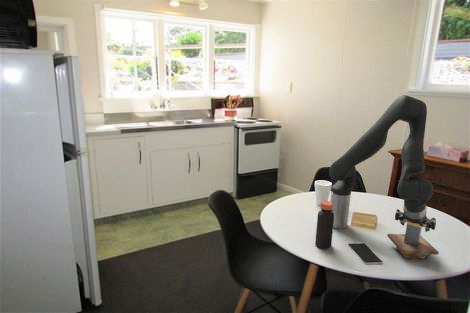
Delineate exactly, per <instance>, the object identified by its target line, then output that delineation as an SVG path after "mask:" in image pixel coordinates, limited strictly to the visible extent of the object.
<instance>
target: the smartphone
mask: <svg viewBox="0 0 470 313" xmlns="http://www.w3.org/2000/svg"><path fill="white" fill-rule="evenodd" d="M347 246H348V247H349V249H350V250H351V251H352V252H353V253H354V254H355V255H356V256H357V258H358V259H359V260H360V262H362V263H363V264H364V265H380V264H381V265H382V264H383V260H382V259H381V258H380V257H379V256H378V255H377V254H376V253H375V252H374V251H373V250H372V249H371V248H370V247H369V246H368V245H367V244H366V243H365V242H361V243H360V242H358V243H352V242H351V243H348V244H347Z"/></svg>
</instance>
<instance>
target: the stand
mask: <svg viewBox="0 0 470 313" xmlns="http://www.w3.org/2000/svg"><path fill="white" fill-rule="evenodd" d="M387 237H388V239H389V240H390V241H391V242H392V243H393V244H394V245H395V248H396V249H397V250H398V251H399V253H401V255H402V256H403V257H404V258H409V259H410V258H414V259H426V256H427V255H434V256H435V255H436V256H437V255H439V254H440V253H439V251H438V249H436V248H435V247H434V246H433V245H432V244H430V242H428V241H427V239H425V238H424V237H423V236H422V235H420V240H419V244H418V246H414V245H410V244H407V243H404V239H405V233H404V234H403V233H387Z"/></svg>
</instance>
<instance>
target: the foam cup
mask: <svg viewBox="0 0 470 313" xmlns="http://www.w3.org/2000/svg"><path fill="white" fill-rule="evenodd" d="M332 186H333V184H332V182H330V181H328V180H323V179H322V180H320V179H319V180H315V181H314V191H315V192H314V195H315V204H316V205H317V206H320V207H321V202H322V201H329V199H330V198H329V196H330V195H331V188H332Z"/></svg>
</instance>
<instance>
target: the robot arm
mask: <svg viewBox="0 0 470 313" xmlns="http://www.w3.org/2000/svg"><path fill="white" fill-rule="evenodd" d="M427 114H428V106H427V105H426V103H425V101H423V100H421V99H418V98H415V97H413V96H410V95H407V94H406V95H405V94H402V95H401V96H398V97H397V98H396V99H395V100H393V102H391V104H390V105H389V107H387V109H386V110H385V111H384V112H383V114H382V115H381V116H380V117H379V118H378V120H377V121H376V122H375V123H374V124H372V126H371V127H370V128H369V129H368V130H367V131H366V132H365V133H363V135H362V136H361V137H360V138H359V139H358V140H357V141H356V142H355V143H354V144H353V145H352V146H351V147H350V148H349V149H348V150H347V151H346V152H345V153H344V154H343V155H342V156H340V157H339V158H337V160H335V161H334V162H332V164H331V165H330V166H329V170H328V172H329V176H330V178H331V179H332V180H333V181H336V182H335V183H334V184H332V185H331V190H330V198H329V202H332V203H333V209H332V212H333V214H334V224H333V229H341V230H342V229H346V228H347V227H348V222H349V212H350V206H351V204H350V203H351V198H352V197H351V196H352V191H353V189H354V185H355V180H356V172H357V168H356V166H357V165H358V164H361V163H363V162H364V161H366V160H369V159H370V158H372V157H373V156H375V154H377V153H378V152H379V151H380V150H382V148H383V147H385V145H386V143H387V139H388V134H389V130H390V129H391V128H392V126H394V124H396V123H398V121H402V122H406V123H408V126H409V127H408V128H409V133H408V137H407V138H406V140H405V142H404V144H403V145H402V148H401V174H400V178H399V180H398V184H397V188H396V190H397V194H398V196H399V197H400V198H402V199H403V206H402V209H403V212H402V211H401V210H400V209H396V211H395V213H394V214H395V215H394V220H395V221H399V223H400V224H401V226H403V227H404V226H405V223H406V224H407V222H411V223H417V224H419V225H420V226H422V228H425V230H424V232H426V233H427V232H430V229H431V230H433V231H435V230H436V225H437V221H436V219H437V218H435V217H431V218H428V217H427V203H428V202H429V201H430V200H431V198H432V196H433V194H434V186H433V183H432V182H431V181H430V180H428V179H427V178H410V177H412V176H415V175H419V174H422V173H424V172H425V168H426V164H425V152H424V151H425V150H424V148H425V147H424V141H425V132H426V126H427V125H426V124H427Z"/></svg>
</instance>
